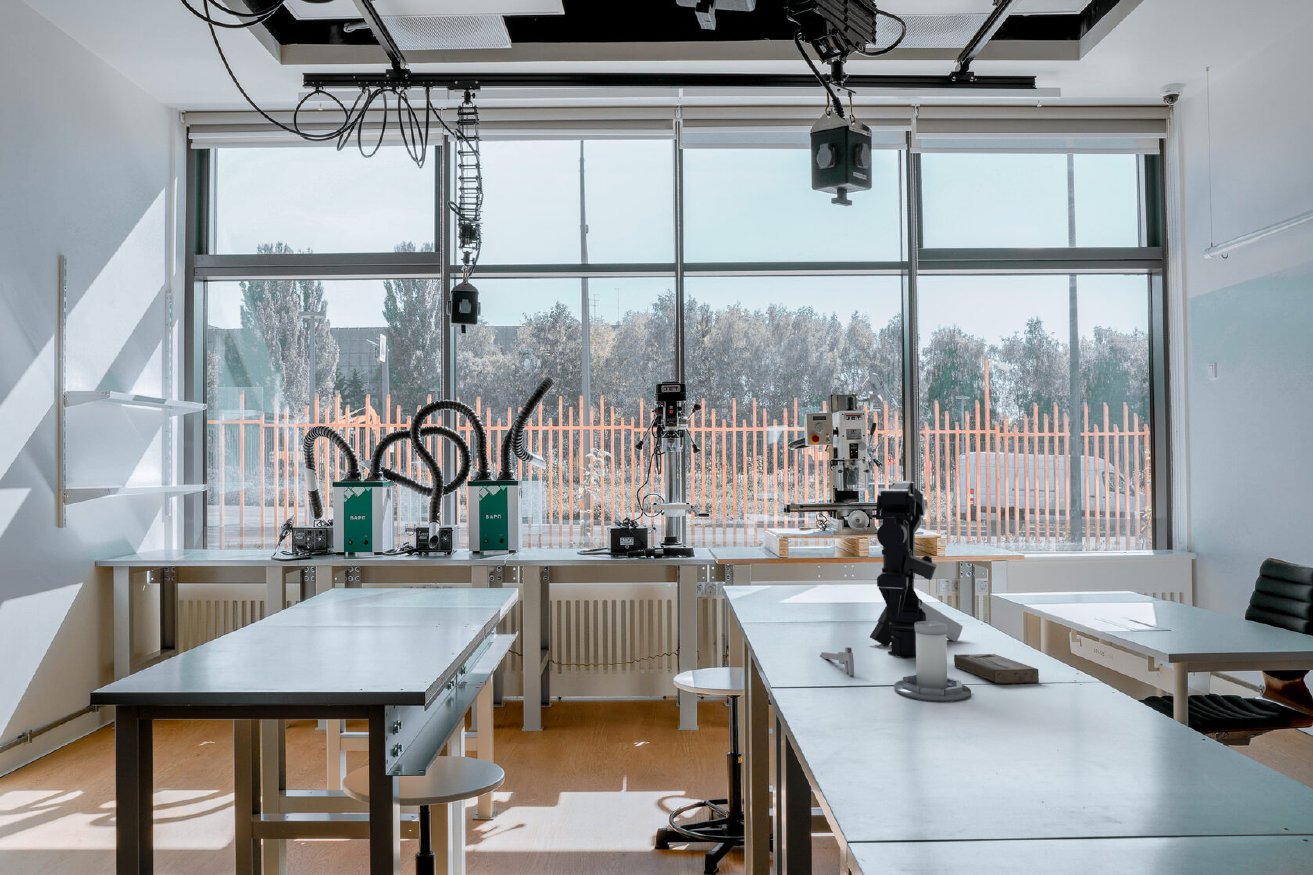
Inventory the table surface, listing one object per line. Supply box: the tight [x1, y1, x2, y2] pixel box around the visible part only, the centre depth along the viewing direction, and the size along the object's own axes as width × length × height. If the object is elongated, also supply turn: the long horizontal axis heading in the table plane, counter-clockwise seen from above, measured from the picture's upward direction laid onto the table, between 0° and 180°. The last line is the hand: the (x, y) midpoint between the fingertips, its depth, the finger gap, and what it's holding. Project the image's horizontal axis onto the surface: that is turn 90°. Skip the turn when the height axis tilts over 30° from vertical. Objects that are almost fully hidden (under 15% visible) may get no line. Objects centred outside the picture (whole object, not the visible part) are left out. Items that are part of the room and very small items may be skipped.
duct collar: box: [893, 674, 972, 703], centre depth 170 cm, size 15×15×2 cm
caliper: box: [819, 647, 855, 677], centre depth 193 cm, size 20×1×6 cm, turn 8°
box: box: [953, 653, 1040, 685], centre depth 184 cm, size 11×17×3 cm, turn 9°
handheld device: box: [869, 598, 963, 647], centre depth 217 cm, size 4×22×15 cm, turn 104°
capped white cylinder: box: [915, 621, 948, 689], centre depth 170 cm, size 6×6×13 cm
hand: (897, 614), depth 186 cm, fingers open, 9 cm apart
